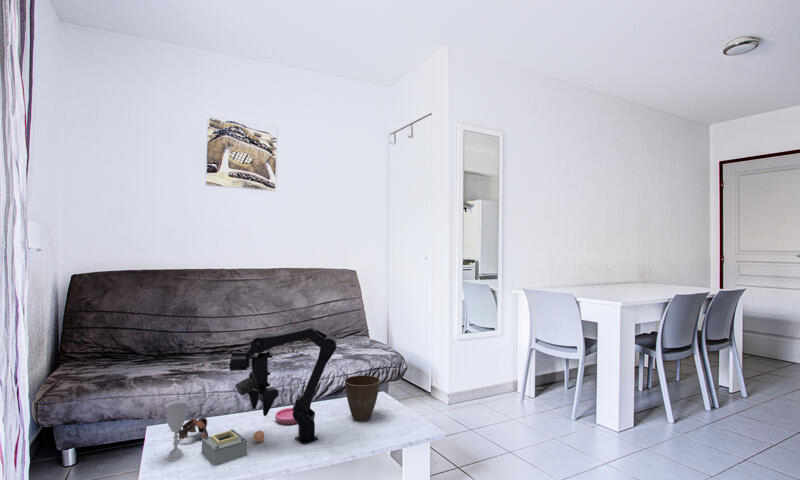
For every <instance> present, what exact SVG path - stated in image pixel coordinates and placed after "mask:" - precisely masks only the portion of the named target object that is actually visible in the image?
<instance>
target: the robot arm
mask: <svg viewBox="0 0 800 480" xmlns="http://www.w3.org/2000/svg"><path fill="white" fill-rule="evenodd" d="M303 340H310V341H311V342H312V343H313V344H314V345H316V346H317V347H319V353H318V356H317V357H318V358H317V360H316V362H315V364H314V367H313V370H312V372H311V374H310V377H309V379H308V381H307V384H306V386H305V388H304V391H303V392H302V394H301V395H299V394H297V395H296V396H297V397H296V399H295V402H294V403H293V405H292V407H291V408H292V411H293V410H294V411H293V418H294V419H295V420H296V421H297V422H298V423H297V424H298V430H297V431H298V436H295V437H294V440H296V441H298V442H299V443H301V444H302V445H306V444H307V443H311V442H315V441H317V440H319V437H318V436H316V435H315V434H316V433H315V432H316V431H315V430H316V423H315V417H316V412H315V411H314V410H313V409H312V408H311V406H312V400H313V396H314V395H315V392H316V390H317V387H318V385H319V382H320V380H321V377H322V375H323V373H324V370H325V368H326V366H327V363H328V362H329V361H330V360H331V358H332V356H333V355H334V354H335V352H336V349H337V340H336V338H335V337H334V336H333V335H327V334H326V333H324V332H322V331H320V330H318V329H316V328H315V327H313V326H307V327H304V328H301V329H296V330H291V331H287V332H286V331H285V332H282V333H278V334H277V333H274V334H273V333H266V334H265V333H263V334H258V335H256V336H255V337H254V338H253V339H252V341H251V342H250V348H248V349H247V350H246V351H232V352H231V353H230V354H231V356H230V359H229V365H228V366H229V367H228V368H229V371H230V372H236V371H237V372H238V371H239V372H241V371H248V369H249V368H251V372H249V374H248V377H247V378H245V379H244V380H243V379H242V380H241V381H239V382H237V383H236V384H234V385H235V388H236V392H237V394H240V396H245V395H247V396H248V398H249V402H250V405H251V408H252V410H255V409H257V406H258V403H259V401H260V402H261V404H262V405H261V407H262V414H263V417H267V415H268V414H269V412H270V410H271V408H272V406H273V404H274V401H275V400H276V399H277V398H279V396H280V394H279V393H280V391H279V390H278V389H277V388H275V387H273V386H271V383H270V382H269V376H271V372H270V371H269V359H271V358H273V357H274V353H272V352H271V350H270V349H272V348H274V347H275V348H276V347H277V346H280V345H286V344H290V343H295V342H299V341H303Z"/></svg>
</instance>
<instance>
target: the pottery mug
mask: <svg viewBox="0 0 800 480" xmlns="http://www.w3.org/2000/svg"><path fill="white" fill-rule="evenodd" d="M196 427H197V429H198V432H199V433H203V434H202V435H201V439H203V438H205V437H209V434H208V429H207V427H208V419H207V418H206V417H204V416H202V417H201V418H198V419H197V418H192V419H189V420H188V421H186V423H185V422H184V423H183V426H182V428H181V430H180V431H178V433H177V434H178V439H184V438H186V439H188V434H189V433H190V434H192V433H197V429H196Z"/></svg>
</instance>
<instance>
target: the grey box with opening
mask: <svg viewBox="0 0 800 480" xmlns="http://www.w3.org/2000/svg"><path fill="white" fill-rule="evenodd" d="M201 454H202V455H203V457H205V458H206V459H207V460H208V461H209V462H210V463H211V464H212V465H213V466H214V467H216V466H218V465H222V464H224V463H228V462H230V461H233V460H236V459H240V458H242V457H246V456H248V440H247V438H245V437H244V436H242V435H241V434H240V433H239V432H237V431H236V430H234V429H230V430H228V431H227V430H226V431H223V432H219V433H216V434H213V435H210V436H208V437H205V438H201Z"/></svg>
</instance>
